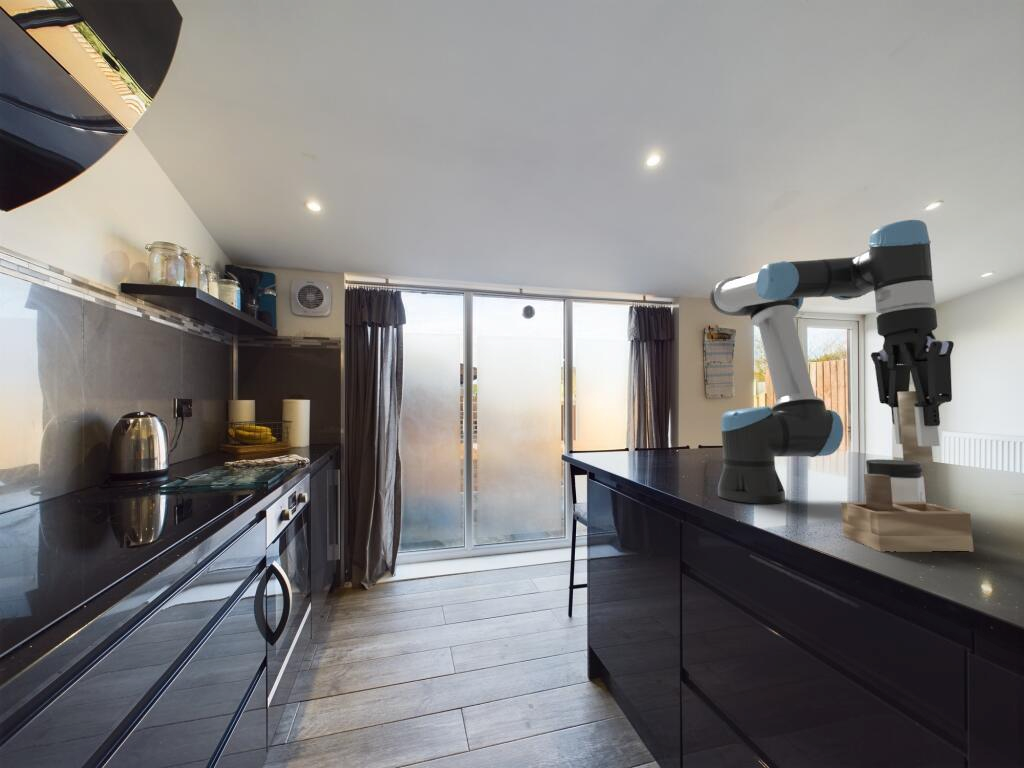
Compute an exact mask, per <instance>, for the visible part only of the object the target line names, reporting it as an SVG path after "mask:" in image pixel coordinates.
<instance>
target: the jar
mask: <svg viewBox="0 0 1024 768" xmlns="http://www.w3.org/2000/svg"><path fill="white" fill-rule="evenodd" d="M865 465H866V467H865V469H866V474H882V475H888V476H890V477H891V489H892V501H893V502H925V503H927V502H926V500H927V499H926V492H925V491H926V490H925V480H924V476H923V474H922V473H923V469H922V464H921V462H908V461H903V459H902V460H900V459H899V460H898V459H881V458H880V459H878V458H877V459H867V460H866V461H865Z"/></svg>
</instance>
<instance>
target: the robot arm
mask: <svg viewBox="0 0 1024 768" xmlns="http://www.w3.org/2000/svg"><path fill="white" fill-rule="evenodd" d="M929 236H930V235H929V232H928V226H927V223H926V222H924V221H923V220H919V219H907V220H901V221H895V222H893V223H888V224H886V225H883V226H880V227H879V228H877V229H875V230H874V231H872V232H871V234H870V237H869V243H868V246H869V249H867V250H866V251H865V252H862V253H861V254H859V255H857V256H852V257H838V258H837V257H836V258H825V259H823V258H822V259H815V260H814V259H813V260H797V261H794V260H793V261H785V260H784V261H777V262H771V263H767V264H764V265H763V266H762V267H761V269H760V270H759V271H758V272H754V273H753V274H749V275H746V276H745V275H744V276H734V277H728V278H725V279H722V280H720V281H719V282H717V283H715V285H714V286H713V287H712V289H711V291H710V294H709V301H710V305H712V308H713V309H714V310H715V311H717V313H720V314H722V315H723V314H724V315H725V316H731V317H733V316H734V317H741V316H742V317H743V316H744V317H746V316H749V317H750V321H751V324H752V325H754V326H755V327H758V329H759V334H760V338H761V341H762V347H763V350H764V354H765V358H766V362H767V367H768V371H769V375H770V381H771V384H772V387H773V393H774V397H775V401H776V402H775V403H774V405H773V406H756V407H747V408H740V409H739V408H738V409H734V410H729V411H725V412H724V413H723V414H722V416H721V427H720V430H721V440H722V441H721V442H722V443H721V444H722V458H723V469H722V472H721V474H720V478H719V482H718V485H717V496H718V497H720V498H722V499H725V500H728V501H733V502H740V503H749V504H761V505H763V504H764V505H765V504H767V505H768V504H769V505H770V504H771V505H772V504H779V503H783V502H786V491H785V489H784V485H783V484H782V482H781V479H780V477H779V475H778V472H777V469H776V461H775V457H778V458H779V457H781V458H782V457H783V458H784V457H788V458H789V457H809V458H816V457H826V456H831V455H832V454H834V453H835V452H837V450H838V449H839V448H840V446H841V444H842V441H843V438H844V424H843V420H842V418H841V416H840V415H839V414H838V413H837V412H836V411H834V410H831V409H827V408H826V404H825V401H824V400H823V399H821V398H820V397H818V396H816V395H815V391H814V388H813V384H812V380H811V377H810V374H809V369H808V366H807V363H806V358H805V355H804V351H803V348H802V344H801V340H800V337H799V332H798V330H797V329H798V328H797V325H796V322H795V318H796V316H797V315H798V314H799V310H801V308H802V307H803V303H804V298H805V299H806V298H808V299H809V298H826V297H828V298H829V297H832V298H834V299H836V300H839V301H847V300H852V299H857V298H861V297H863V296H866V295H867V294H869V293H871V292H874V298H875V312H876V313H878V314H879V315H878V316H877V317H876V326H877V327H876V329H877V334H878V335H879V336H880V337H883V339H884V340H883V345H882V348H881V349H880V350H879V351H877V352H875V351H874V352H871V353H870V357H871V360H872V362H873V364H874V371H875V377H876V383H877V384H876V385H877V392H878V400H879V402H880V404H883V405H884V404H885V405H887V406H889V408H890V409H891V418H892V420H891V421H892V424H893V425H894V433H895V434H894V436H895V444H897V445H902V438H901V427H900V416H899V404H898V393H897V392H906V391H910V383H911V381H910V380H912V381H913V386H914V389H915V390H914V391H916V394H917V398H918V402H919V403H916V404H914V405H915V406H917V407H914V408H915V419H916V430H917V441H918V446H932V447H940V446H941V445H940V436H939V426H940V424H941V419H940V417H941V416H940V409H939V408H940V407H941V405H942V404H944V403H945V404H946V403H950V402H952V399H953V391H952V390H953V389H952V365H951V363H952V362H951V355H952V352H953V348H954V342H953V341H952V340H945V341H944V340H939V339H936V336H935V335H934V331H935V330H937V328H938V317H937V310H936V309H935V308H934V307H932V306H934V305H935V304H936V294H935V289H934V282H933V280H934V279H933V269H932V268H933V267H932V256H931V242H932V241H931V240H930V237H929ZM911 378H912V379H911Z"/></svg>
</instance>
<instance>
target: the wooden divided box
mask: <svg viewBox="0 0 1024 768" xmlns="http://www.w3.org/2000/svg"><path fill="white" fill-rule="evenodd" d="M840 508H841V520H842V532H843V533H842V535H843V537H844V536H845V538H846V539H849V538H850V539H849V540H851V539H852V541H854V542H856V541H857V543H860V544H861V545H863V544H864V545H863V546H866V547H868V548H870V547H871V548H870V549H873V550H875V551H877V550H878V552H882V553H883V552H885V551H890V553H891V552H893V553H894V551H896V552H898V553H901V552H903V553H905V552H906V553H910V552H911V553H912V552H913V553H914V552H915V553H920V552H921V553H922V552H924V553H926V552H927V553H932V551H969V552H968V553H974V551H975V550H974V542H973V529H972V518H971V513H969V512H965V511H961V510H957V509H955V508H954V509H953V508H949V507H945V506H941V505H937V504H934V503H928V502H926V503H925V502H893V511H880V512H876V511H873V510H869V509H867V507H866V501H864V502H857V501H856V502H852V501H851V502H840ZM896 552H895V553H896ZM885 553H886V552H885Z"/></svg>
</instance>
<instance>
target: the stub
mask: <svg viewBox="0 0 1024 768" xmlns="http://www.w3.org/2000/svg"><path fill="white" fill-rule="evenodd" d="M863 475H864V476H863V477H864V478H863V479H864V492H865V494H864V495H865V502H866V507H867V509H869V510H873V511H876V512H880V511H893V501H892V489H891V477H890V476H888V475H882V474H867V473H865V474H863Z"/></svg>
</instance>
